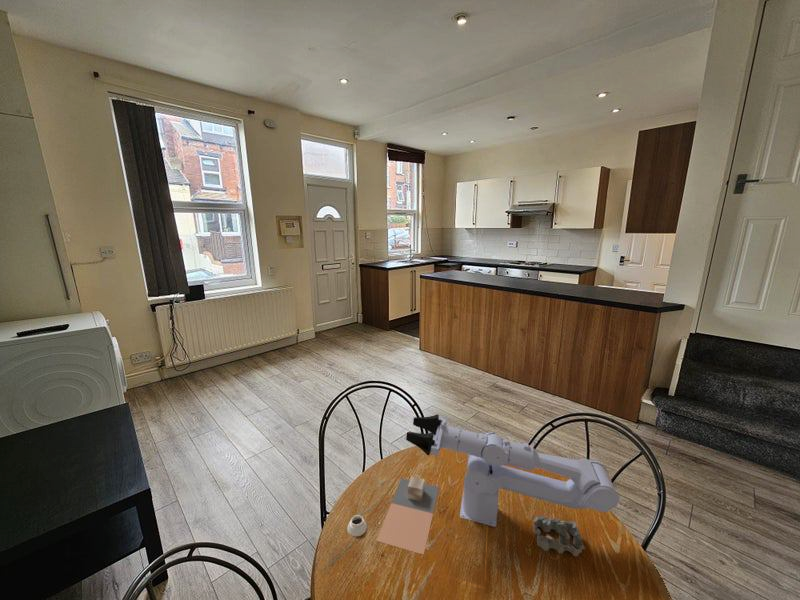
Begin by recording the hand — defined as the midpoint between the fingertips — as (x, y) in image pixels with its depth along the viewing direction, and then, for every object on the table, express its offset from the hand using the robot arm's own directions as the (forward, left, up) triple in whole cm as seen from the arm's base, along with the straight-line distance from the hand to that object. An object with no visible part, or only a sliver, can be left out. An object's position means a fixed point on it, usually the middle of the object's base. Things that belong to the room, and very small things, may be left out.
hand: (410, 428), depth 90 cm
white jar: (+10, +15, -22) cm, 28 cm away
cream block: (-2, 0, -21) cm, 21 cm away
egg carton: (-39, +3, -22) cm, 45 cm away
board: (-2, +5, -22) cm, 22 cm away
